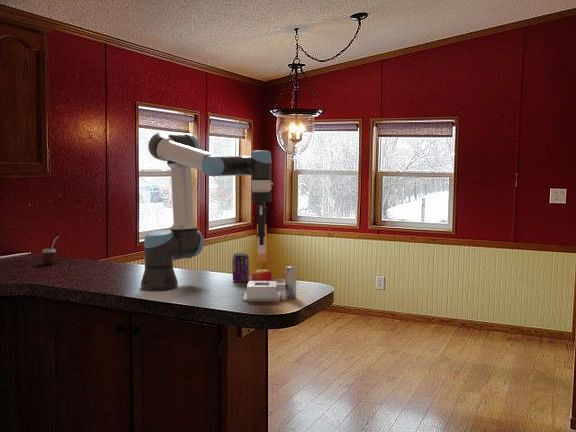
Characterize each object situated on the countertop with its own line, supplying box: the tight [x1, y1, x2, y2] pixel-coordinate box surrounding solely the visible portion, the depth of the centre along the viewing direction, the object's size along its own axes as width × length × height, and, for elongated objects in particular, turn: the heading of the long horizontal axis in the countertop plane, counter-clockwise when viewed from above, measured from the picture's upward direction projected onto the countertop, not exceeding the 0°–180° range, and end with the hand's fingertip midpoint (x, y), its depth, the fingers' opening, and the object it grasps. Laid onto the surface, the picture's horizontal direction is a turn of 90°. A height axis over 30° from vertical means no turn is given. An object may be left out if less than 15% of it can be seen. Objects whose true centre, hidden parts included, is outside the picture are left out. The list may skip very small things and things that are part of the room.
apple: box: [251, 264, 273, 281], centre depth 250 cm, size 8×8×10 cm
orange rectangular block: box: [256, 223, 268, 263], centre depth 229 cm, size 4×4×14 cm
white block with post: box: [242, 265, 297, 302], centre depth 231 cm, size 20×12×12 cm, turn 90°
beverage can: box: [232, 252, 250, 283], centre depth 264 cm, size 7×7×12 cm
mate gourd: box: [41, 235, 60, 266], centre depth 309 cm, size 8×8×15 cm
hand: (262, 252), depth 230 cm, fingers closed on orange rectangular block, 3 cm apart
